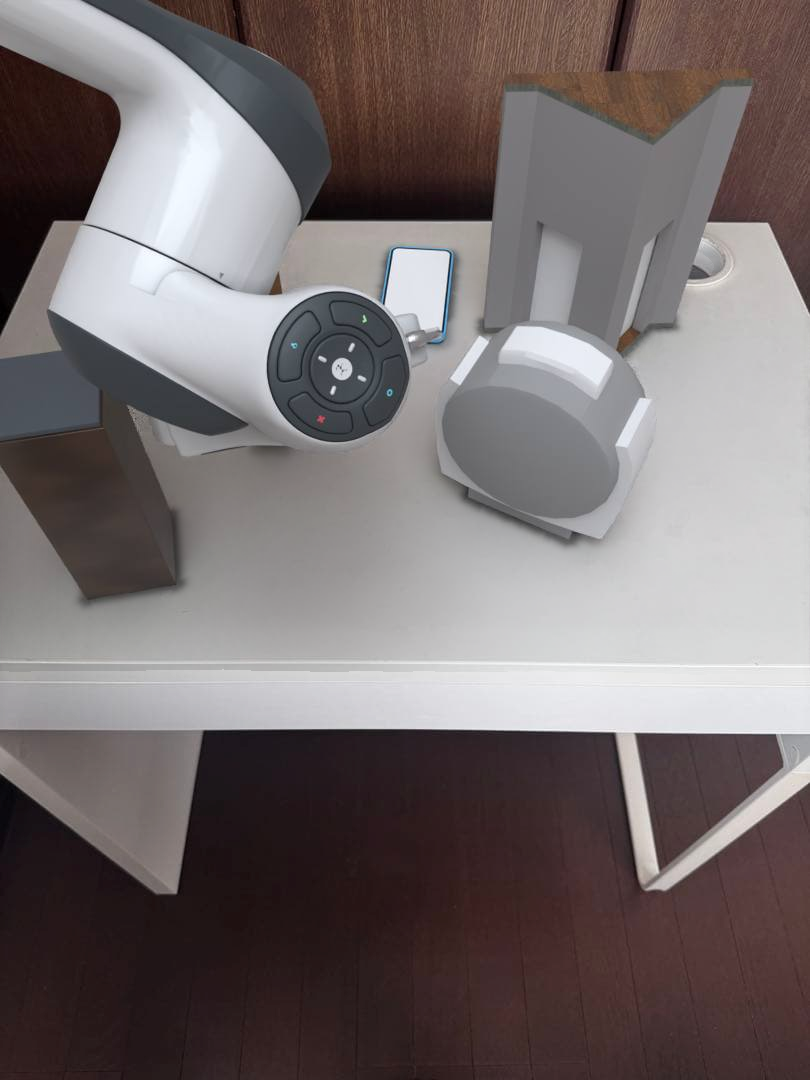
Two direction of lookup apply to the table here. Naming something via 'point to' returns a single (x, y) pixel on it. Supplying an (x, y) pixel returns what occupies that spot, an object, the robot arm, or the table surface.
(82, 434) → the pedestal
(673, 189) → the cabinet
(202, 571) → the table surface
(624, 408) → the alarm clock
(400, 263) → the smartphone
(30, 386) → the mat
